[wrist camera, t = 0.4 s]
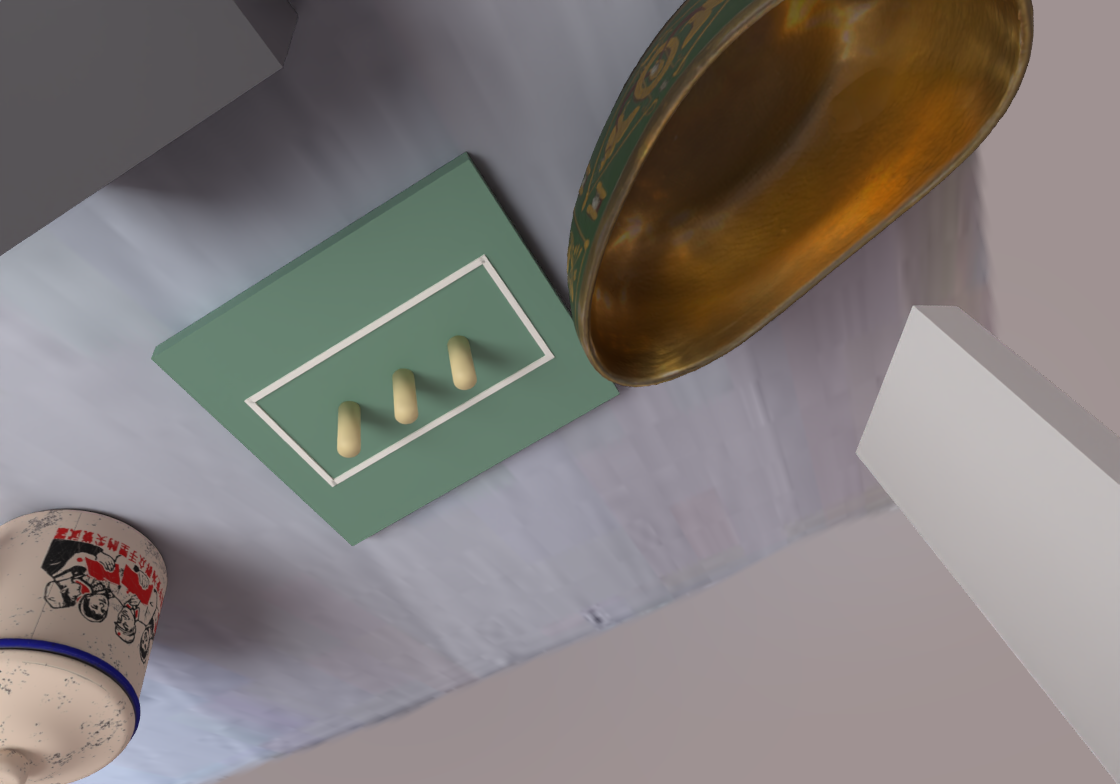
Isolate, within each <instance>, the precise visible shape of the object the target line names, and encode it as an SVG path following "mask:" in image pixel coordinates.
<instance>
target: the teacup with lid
mask: <svg viewBox="0 0 1120 784" xmlns="http://www.w3.org/2000/svg"><path fill="white" fill-rule="evenodd" d="M166 587H167V571H166V567H165V563H164V561H163V559H162V557H161V555H160V553H159V551H158V550H157V548H156V547H155V546H154V545H153V544H152V543H151V542H150V541H149V540H148V539H147V538H146V537H145V536H144V535H143V534H141V533H140V532H139V531H137V530H136V529H134V528H133V527H131V526H129V525H127V524H125V523H123V522H121V521H119V520H116V519H114V518H111V517H108V516H105V515H102V514H98V513H93V512H88V511H81V510H66V509H62V510H47V511H40V512H35V513H31V514H27V515H24V516H21V517H18V518H15V519H13V520H11V521H9V522H7V523H5V524H3V525H2V526H0V784H67V783H71V782H74V781H77V780H80V779H82V778H85V777H87V776H89V775H91V774H93V773H95V772H97V771H99V770H100V769H102V768H103V767H105V766H106V765H108V764H109V763H110V762H112V761H113V760H114V759H115V758H116V757H117V756H118V755H119V754H120V753H121V752H122V751H123V750H124V749H125V747H126V746H127V744H128V743H129V741H130V740H131V739H132V737H133V736H134V734H135V732H136V730H137V728H138V724H139V721H140V703H139V696H140V692H141V688H142V684H143V680H144V676H145V672H146V668H147V664H148V660H149V656H150V652H151V648H152V644H153V640H154V636H155V632H156V628H157V624H158V620H159V616H160V612H161V608H162V604H163V600H164V596H165V592H166Z"/></svg>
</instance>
